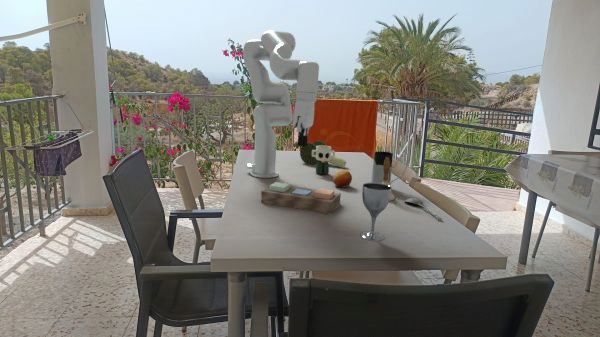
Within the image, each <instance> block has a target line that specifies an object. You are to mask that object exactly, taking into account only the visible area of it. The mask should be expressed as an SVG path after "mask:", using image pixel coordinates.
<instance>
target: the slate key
mask: <svg viewBox="0 0 600 337" xmlns="http://www.w3.org/2000/svg"><path fill="white" fill-rule="evenodd" d="M310 193H311V191H308V190H302V189H296V190H294V191H293V192H291V194H298V195H304V196H308V195H309V194H310Z"/></svg>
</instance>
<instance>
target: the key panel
mask: <svg viewBox="0 0 600 337" xmlns="http://www.w3.org/2000/svg"><path fill="white" fill-rule="evenodd" d="M269 188H270V186H268V187H267V188H265V189H263V190H261V191H260V192H261V196H260V202H261V203H265V204H269V203H270V204H271V205H275V206H281V207H282V206H283V207H287V208H293V209H299V210H306V211H313V212H317V213H325V214H330V215H331V214H332V213H333V212H334V211H335V210H336V209H337V207H339V206H340V205H341V195H342V194H341V193H340V192H335V191H334V197H333V198H332V199H331V200H330V199H323V198H317V197H314V192H315V191H316V190H317V189H313V188H308V187H307V188H306V187H300V186H296V185H295V186H293V185H290V189H289V190H288V191H286V192H279V191H272V190H269ZM296 189H302V190H308V191H311V193H310V194H309V195H308V196H304V195H298V194H291V192H293V191H294V190H296Z"/></svg>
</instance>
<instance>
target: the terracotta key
mask: <svg viewBox="0 0 600 337" xmlns="http://www.w3.org/2000/svg"><path fill="white" fill-rule="evenodd" d="M315 190H316V191H315V192H314V197H317V198H323V199H330V200H331V199H332V198H333V197H334V192H335V190H333V189H326V188H320V187H319V188H317V189H315Z"/></svg>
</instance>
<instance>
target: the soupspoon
mask: <svg viewBox="0 0 600 337" xmlns="http://www.w3.org/2000/svg"><path fill="white" fill-rule="evenodd" d="M403 202H404V203H411V204H415V205H418V206H420V207H422V208H423V209H425V210H427V211H428V212H429V213H431V214H432V215H433V216H434V217H435V219H436V221H437V220H442V221H443V218H442V217H440V216H439V215H438V214H436V213H435V212H434V211H432V210H431V209H429V208H428V207H427V206H425V205H424V203H425V202H424V201H423V200H421V199H419V198H415V197H414V198H413V197H411V198H407V199H405V200H404V201H403Z"/></svg>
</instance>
